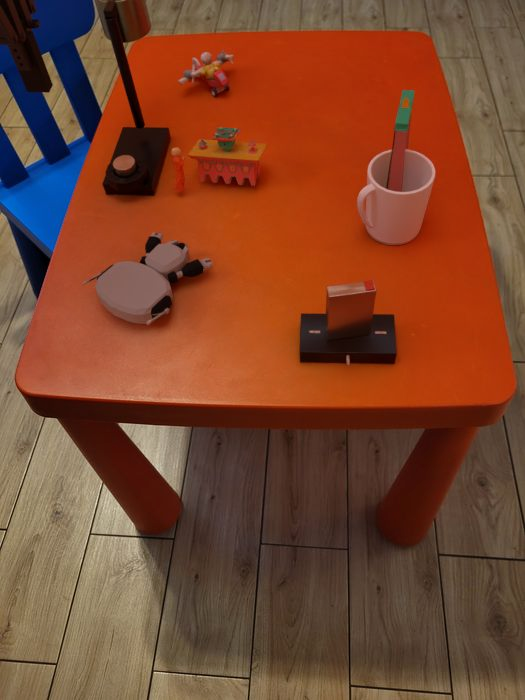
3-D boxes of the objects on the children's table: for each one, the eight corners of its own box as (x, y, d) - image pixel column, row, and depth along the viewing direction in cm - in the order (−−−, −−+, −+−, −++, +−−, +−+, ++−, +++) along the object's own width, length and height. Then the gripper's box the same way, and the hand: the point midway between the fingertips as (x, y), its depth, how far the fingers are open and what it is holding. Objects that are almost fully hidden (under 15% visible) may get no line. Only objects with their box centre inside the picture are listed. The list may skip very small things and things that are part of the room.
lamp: (160, 129, 100) (131, 12, 84) (118, 128, 100) (81, 12, 84) (171, 91, 105) (146, -25, 89) (131, 91, 106) (99, -24, 90)
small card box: (327, 340, 77) (328, 295, 69) (325, 330, 78) (326, 284, 70) (370, 334, 77) (376, 289, 69) (367, 324, 78) (373, 278, 70)
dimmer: (299, 374, 77) (299, 364, 75) (301, 313, 83) (301, 301, 80) (395, 376, 76) (397, 365, 74) (391, 313, 81) (393, 301, 79)
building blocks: (398, 214, 87) (410, 116, 77) (169, 194, 94) (153, 102, 85) (405, 173, 96) (417, 80, 86) (195, 157, 103) (184, 70, 93)
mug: (401, 196, 93) (410, 140, 84) (435, 233, 89) (449, 178, 80) (338, 223, 91) (341, 168, 82) (371, 262, 86) (377, 209, 78)
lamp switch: (134, 179, 94) (131, 170, 93) (113, 178, 94) (110, 169, 93) (139, 164, 96) (136, 155, 94) (118, 163, 96) (115, 154, 95)
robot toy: (157, 242, 92) (85, 304, 86) (152, 219, 89) (76, 282, 82) (220, 277, 88) (149, 344, 81) (217, 254, 84) (143, 323, 77)
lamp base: (152, 203, 96) (146, 183, 93) (103, 201, 97) (96, 182, 94) (171, 138, 104) (166, 118, 101) (126, 137, 105) (119, 117, 102)
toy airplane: (229, 100, 109) (225, 66, 103) (180, 99, 110) (173, 66, 105) (237, 69, 114) (233, 36, 108) (189, 69, 115) (184, 36, 109)
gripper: (-47, -130, 49) (54, 123, 68) (8, -188, 56) (85, 57, 75) (-134, -128, 49) (-9, 122, 69) (-69, -185, 57) (27, 57, 76)
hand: (40, 88), depth 72 cm, fingers closed
